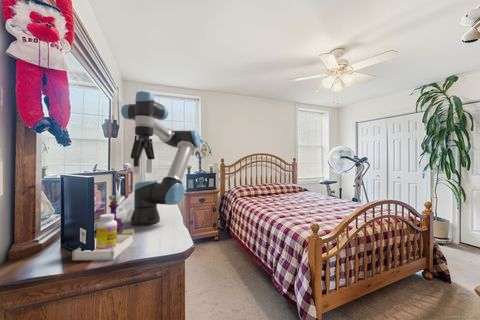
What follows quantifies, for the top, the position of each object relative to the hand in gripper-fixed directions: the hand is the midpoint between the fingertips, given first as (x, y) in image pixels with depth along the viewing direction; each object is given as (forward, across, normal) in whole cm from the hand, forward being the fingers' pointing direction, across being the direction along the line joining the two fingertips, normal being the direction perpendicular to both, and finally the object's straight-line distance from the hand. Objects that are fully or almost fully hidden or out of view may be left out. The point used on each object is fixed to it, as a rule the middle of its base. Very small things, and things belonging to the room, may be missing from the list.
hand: (143, 173), depth 94 cm
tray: (+29, +14, -8) cm, 33 cm away
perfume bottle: (+29, -5, -16) cm, 33 cm away
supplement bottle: (+28, +14, -8) cm, 32 cm away
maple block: (+29, +3, -5) cm, 29 cm away
